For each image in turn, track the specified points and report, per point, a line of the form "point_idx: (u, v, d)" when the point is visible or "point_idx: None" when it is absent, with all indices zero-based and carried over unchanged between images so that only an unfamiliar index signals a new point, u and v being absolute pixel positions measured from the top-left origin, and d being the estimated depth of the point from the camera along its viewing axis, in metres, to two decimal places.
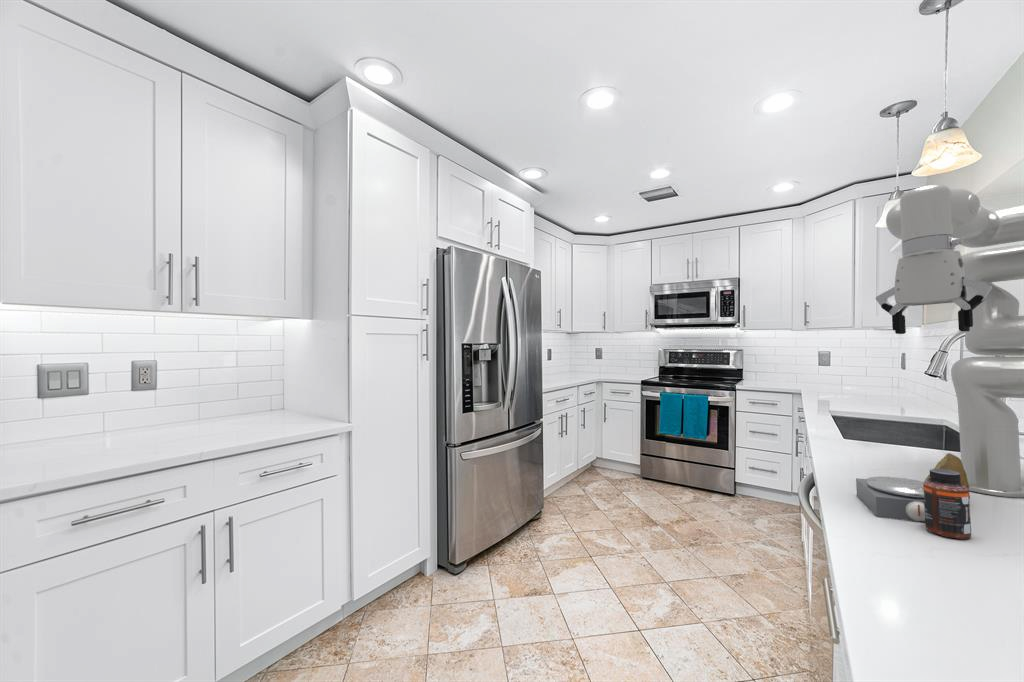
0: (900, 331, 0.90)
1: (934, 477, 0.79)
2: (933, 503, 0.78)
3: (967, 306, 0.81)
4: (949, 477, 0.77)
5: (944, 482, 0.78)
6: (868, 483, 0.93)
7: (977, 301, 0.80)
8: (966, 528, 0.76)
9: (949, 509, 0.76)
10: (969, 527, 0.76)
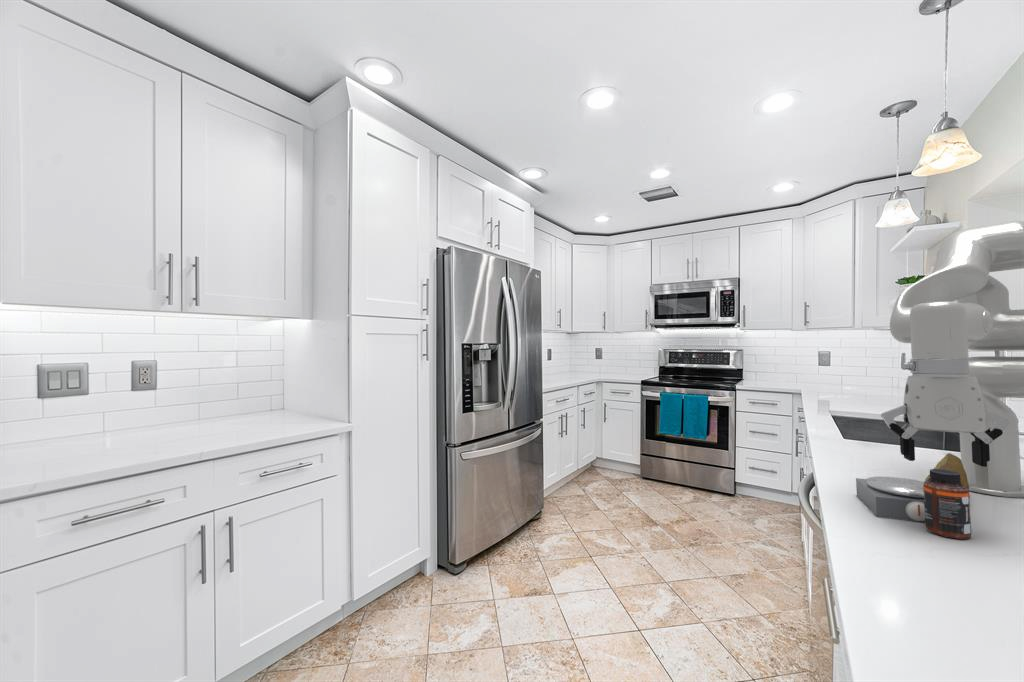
0: (973, 461, 0.78)
1: (934, 477, 0.79)
2: (933, 503, 0.78)
3: None
4: (949, 477, 0.77)
5: (944, 482, 0.78)
6: (868, 483, 0.93)
7: None
8: (966, 528, 0.76)
9: (949, 509, 0.76)
10: (969, 527, 0.76)
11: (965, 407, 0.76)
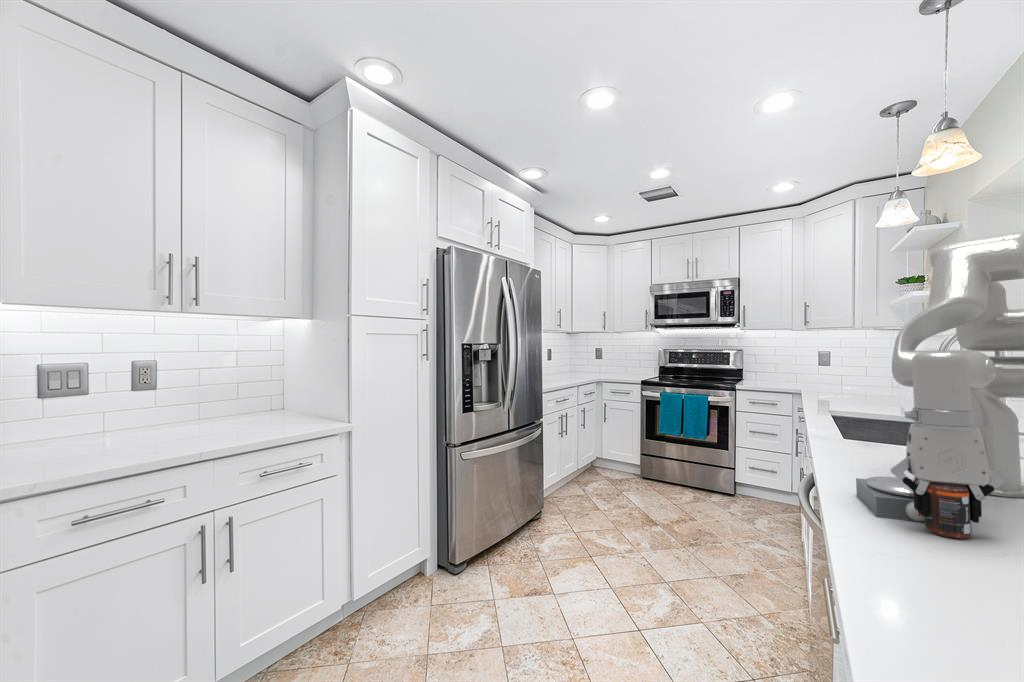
0: None
1: None
2: (933, 503, 0.78)
3: None
4: None
5: None
6: (868, 483, 0.93)
7: None
8: (966, 528, 0.76)
9: (949, 509, 0.76)
10: (969, 527, 0.76)
11: (968, 460, 0.76)
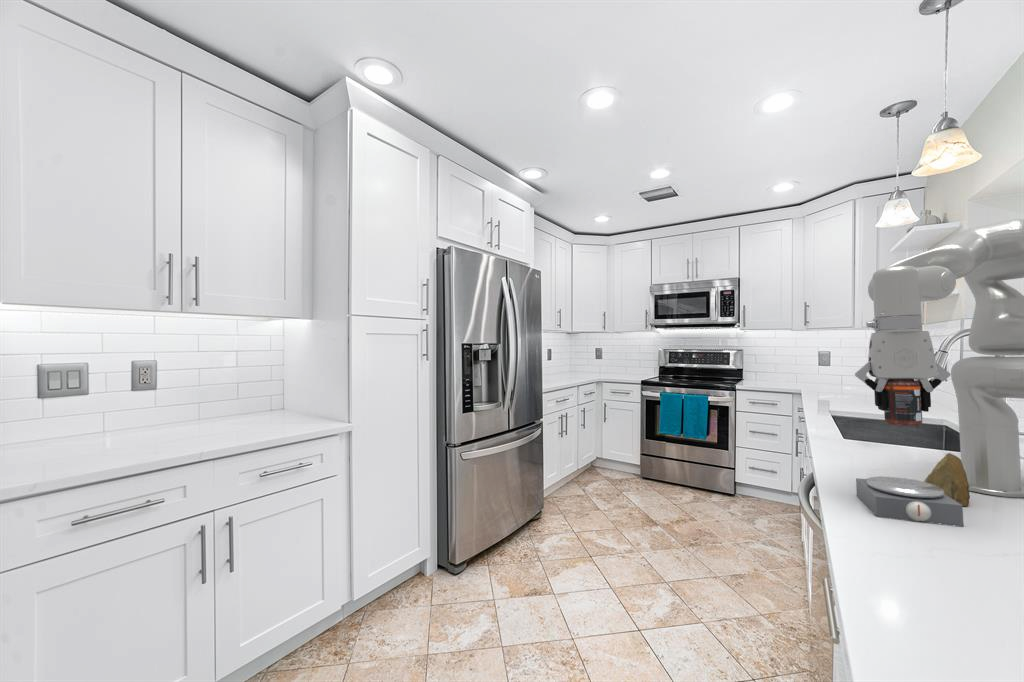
0: None
1: None
2: (890, 398, 0.90)
3: None
4: None
5: (899, 379, 0.90)
6: (868, 483, 0.93)
7: None
8: (918, 416, 0.88)
9: (904, 400, 0.88)
10: (920, 415, 0.88)
11: (919, 357, 0.88)
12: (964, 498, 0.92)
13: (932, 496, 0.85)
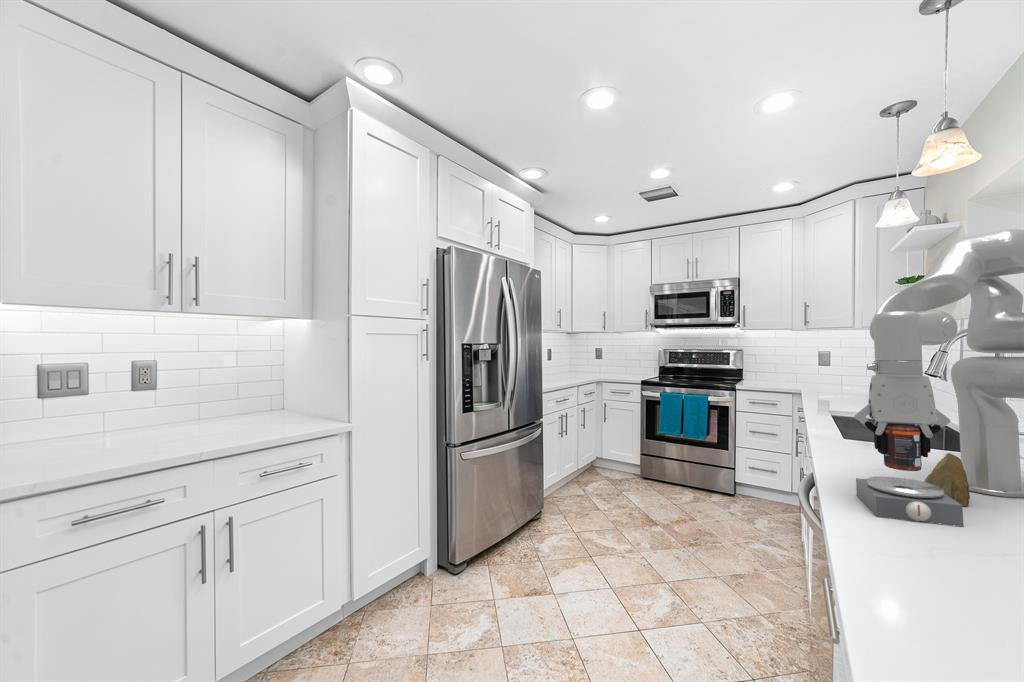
0: None
1: None
2: (890, 441, 0.90)
3: None
4: None
5: None
6: (868, 483, 0.93)
7: None
8: (917, 461, 0.88)
9: (903, 445, 0.88)
10: (919, 461, 0.88)
11: (919, 402, 0.88)
12: (964, 498, 0.92)
13: (932, 496, 0.85)
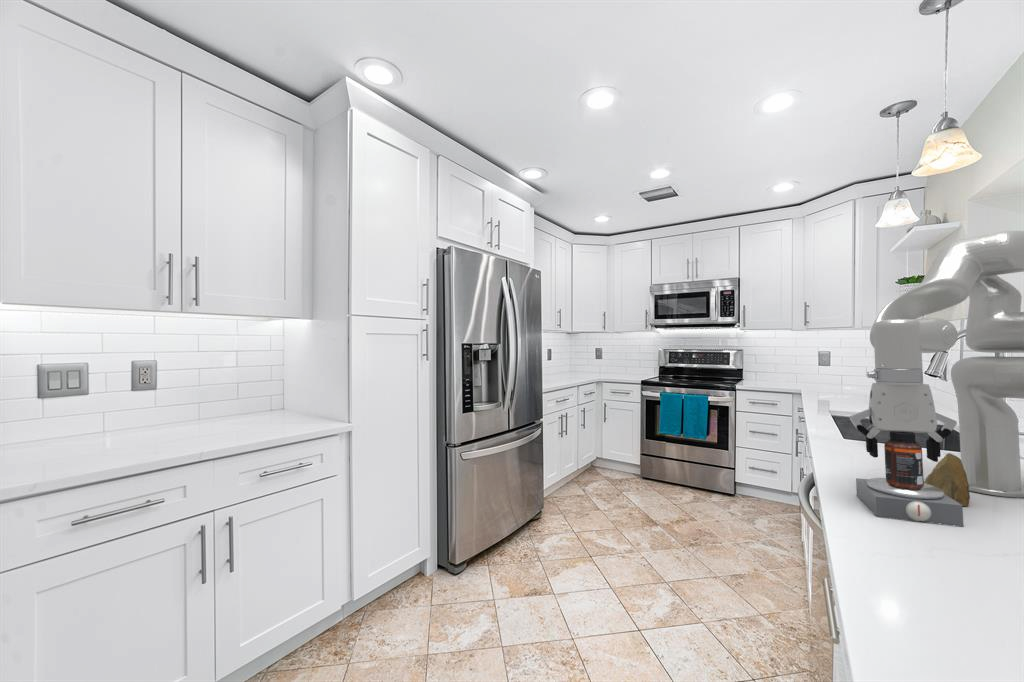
0: (927, 456, 0.90)
1: (893, 437, 0.91)
2: (891, 459, 0.90)
3: None
4: (905, 436, 0.89)
5: (900, 441, 0.90)
6: (868, 484, 0.93)
7: None
8: (919, 479, 0.88)
9: (905, 463, 0.88)
10: (922, 479, 0.88)
11: (919, 411, 0.88)
12: (964, 498, 0.92)
13: (932, 497, 0.85)
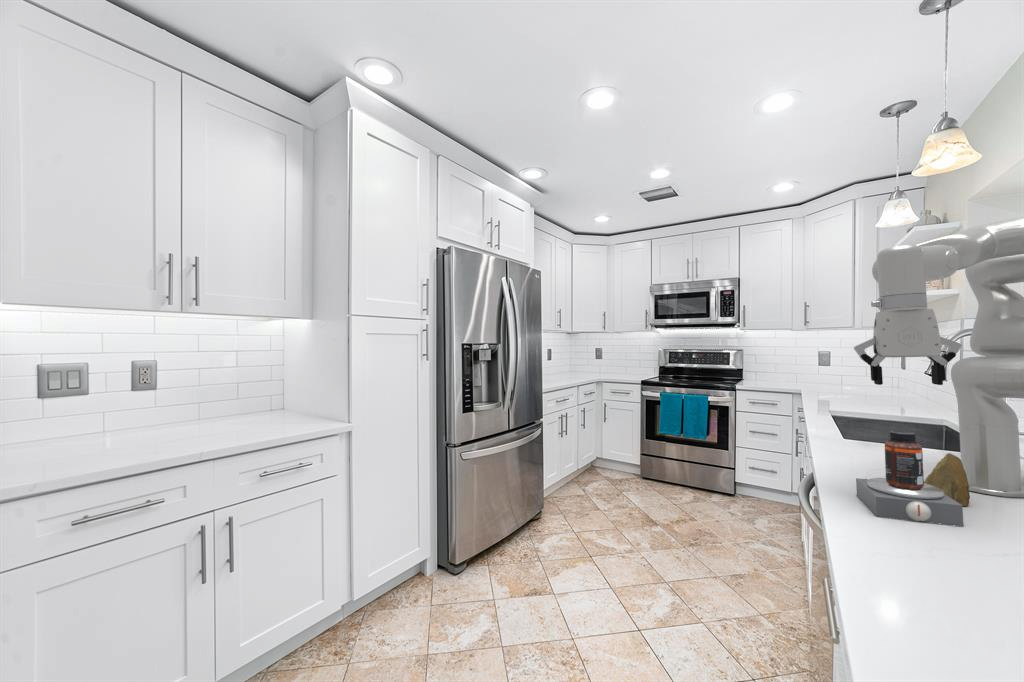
0: (932, 381, 0.90)
1: (893, 437, 0.91)
2: (892, 459, 0.90)
3: None
4: (906, 436, 0.89)
5: (901, 441, 0.90)
6: (868, 484, 0.93)
7: None
8: (919, 479, 0.88)
9: (905, 463, 0.88)
10: (922, 479, 0.88)
11: (923, 335, 0.88)
12: (964, 498, 0.92)
13: (932, 497, 0.85)
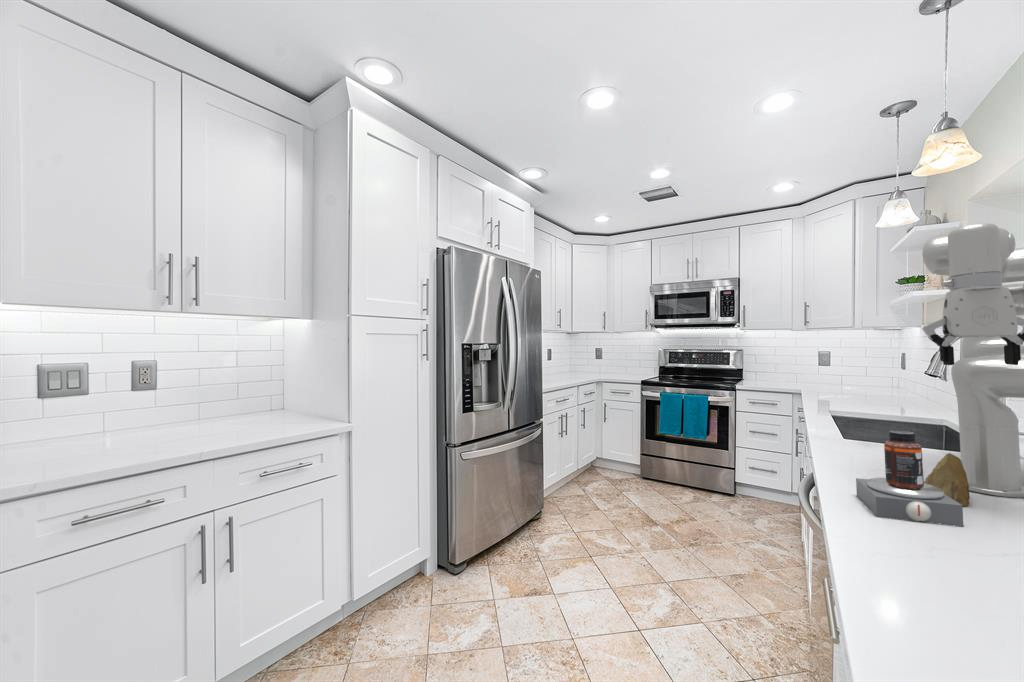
0: (1006, 362, 0.89)
1: (893, 437, 0.91)
2: (891, 459, 0.90)
3: None
4: (905, 436, 0.89)
5: (900, 441, 0.90)
6: (868, 484, 0.93)
7: None
8: (919, 479, 0.88)
9: (905, 463, 0.88)
10: (922, 479, 0.88)
11: (999, 314, 0.87)
12: (964, 498, 0.92)
13: (932, 497, 0.85)
